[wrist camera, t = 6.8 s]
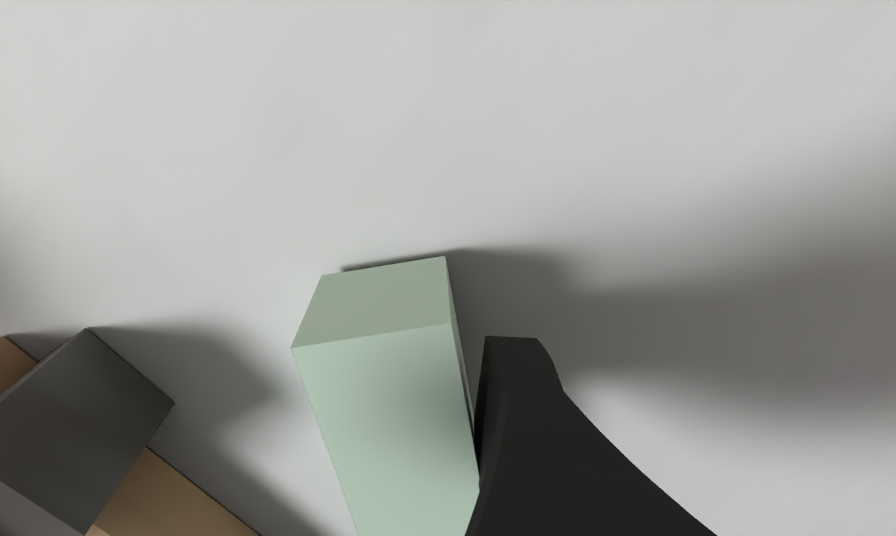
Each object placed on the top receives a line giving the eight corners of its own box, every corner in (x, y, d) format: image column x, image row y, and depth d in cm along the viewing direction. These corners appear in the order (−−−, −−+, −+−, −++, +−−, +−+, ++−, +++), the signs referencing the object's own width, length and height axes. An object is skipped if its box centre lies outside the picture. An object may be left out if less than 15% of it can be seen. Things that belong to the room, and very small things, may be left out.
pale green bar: (498, 555, 13) (512, 657, 11) (410, 567, 13) (407, 672, 11) (445, 255, 9) (451, 322, 7) (321, 275, 9) (290, 348, 7)
